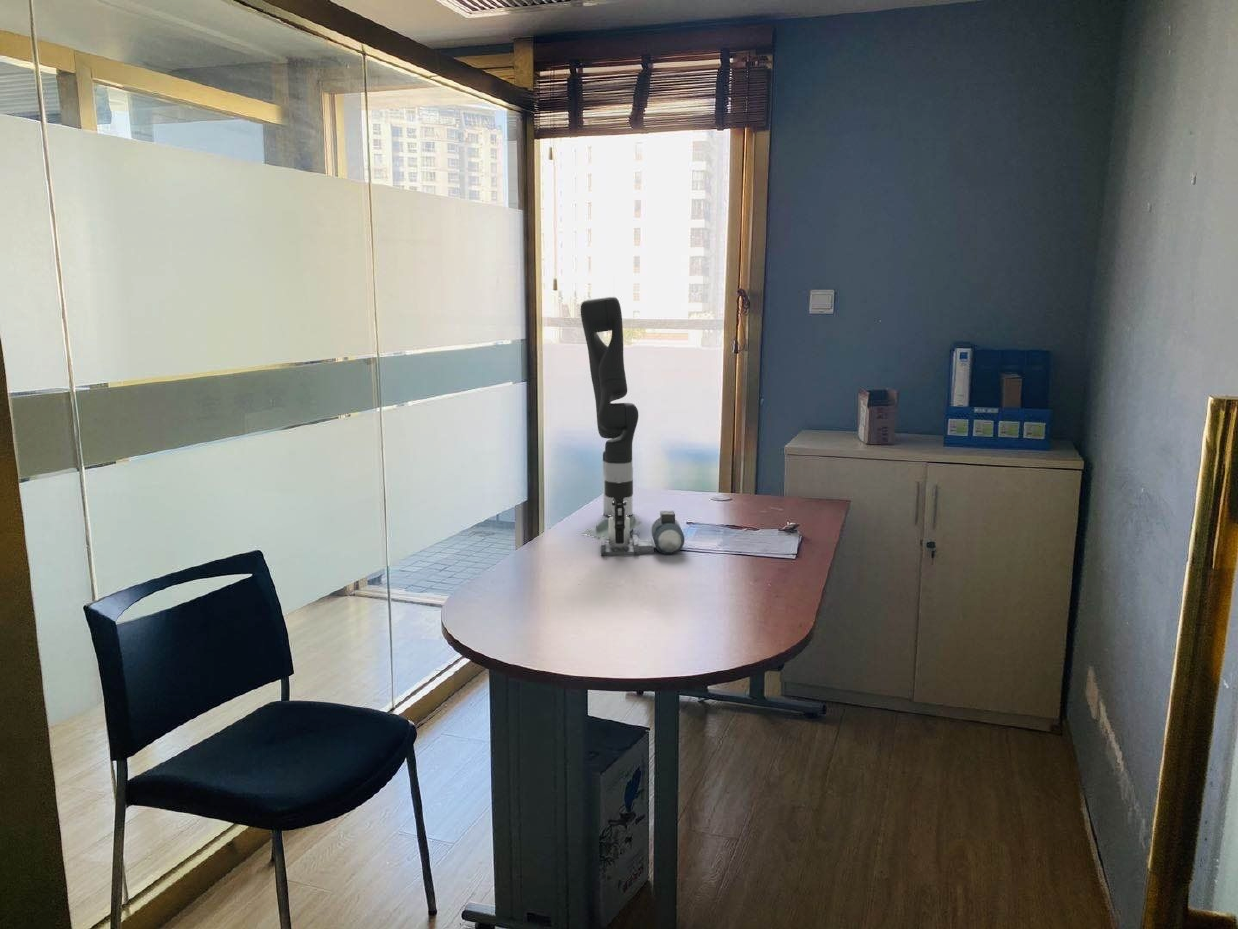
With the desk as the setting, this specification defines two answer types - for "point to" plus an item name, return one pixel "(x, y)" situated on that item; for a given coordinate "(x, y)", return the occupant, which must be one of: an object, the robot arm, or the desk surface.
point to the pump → (612, 532)
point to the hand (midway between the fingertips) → (619, 539)
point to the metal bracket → (604, 528)
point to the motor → (664, 536)
